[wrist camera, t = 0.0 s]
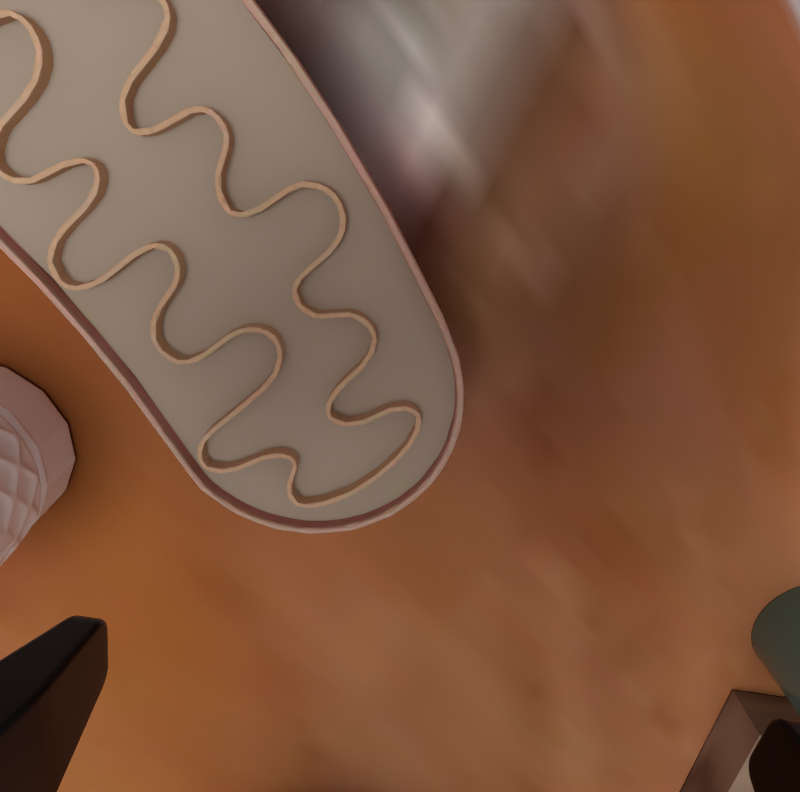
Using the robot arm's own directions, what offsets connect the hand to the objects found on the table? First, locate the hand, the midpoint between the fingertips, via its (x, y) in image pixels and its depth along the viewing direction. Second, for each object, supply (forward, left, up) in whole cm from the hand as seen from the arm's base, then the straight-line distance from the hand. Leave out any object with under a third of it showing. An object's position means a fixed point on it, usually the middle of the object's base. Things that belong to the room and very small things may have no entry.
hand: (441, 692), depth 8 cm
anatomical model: (+5, +8, -15) cm, 18 cm away
